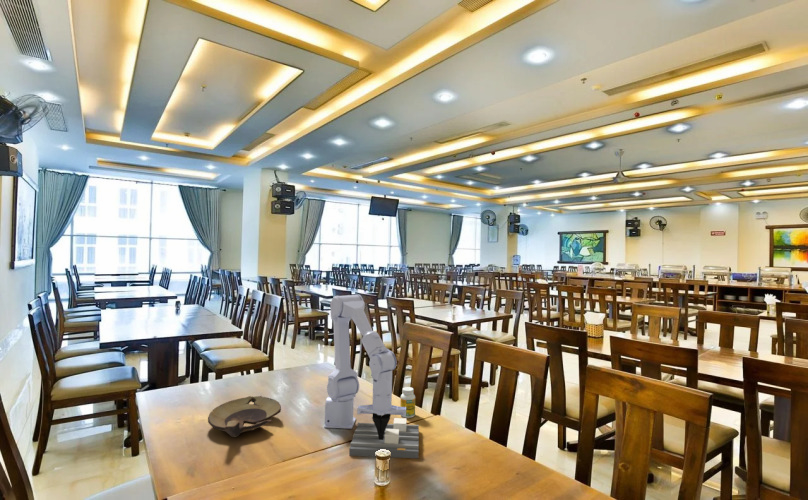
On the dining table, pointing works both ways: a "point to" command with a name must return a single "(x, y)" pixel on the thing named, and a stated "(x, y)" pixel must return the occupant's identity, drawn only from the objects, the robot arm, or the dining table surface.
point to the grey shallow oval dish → (243, 414)
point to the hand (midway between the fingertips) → (381, 438)
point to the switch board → (369, 441)
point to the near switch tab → (392, 436)
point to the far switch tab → (400, 424)
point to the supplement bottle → (408, 402)
